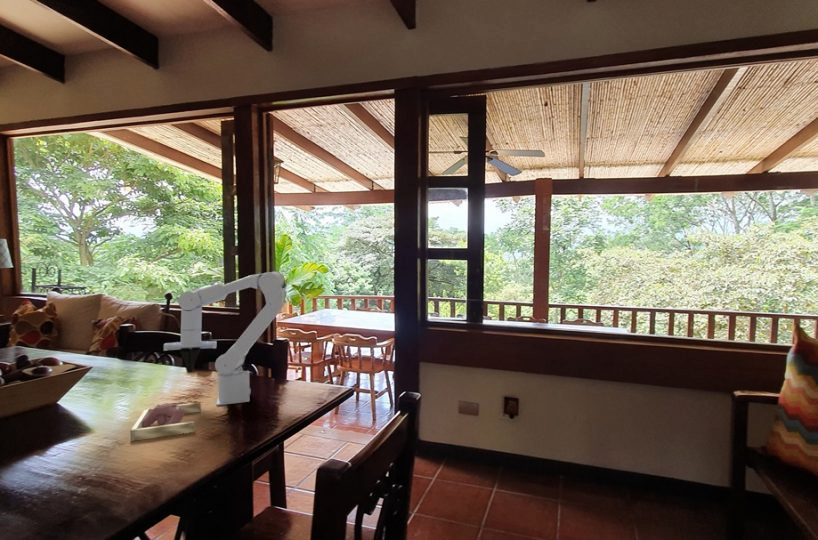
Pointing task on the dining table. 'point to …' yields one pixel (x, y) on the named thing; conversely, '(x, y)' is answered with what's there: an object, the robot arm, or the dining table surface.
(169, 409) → the video game controller
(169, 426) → the bay
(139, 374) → the dining table surface
